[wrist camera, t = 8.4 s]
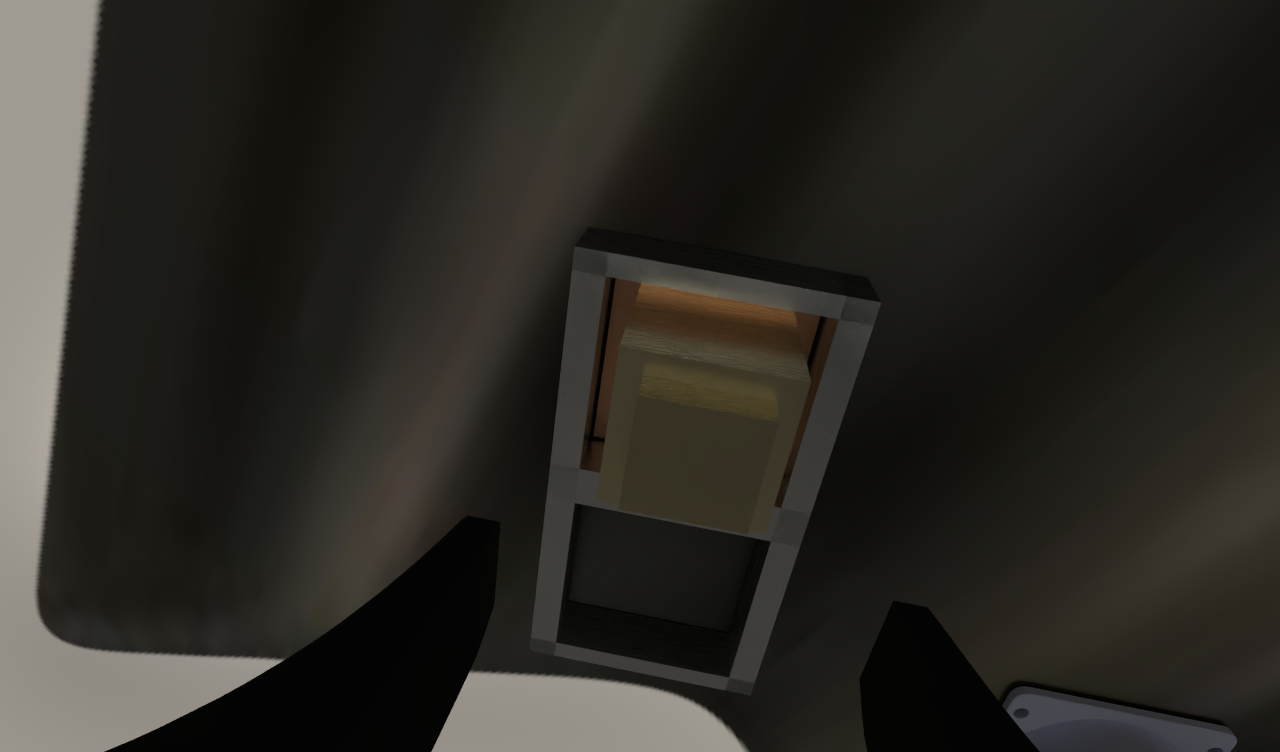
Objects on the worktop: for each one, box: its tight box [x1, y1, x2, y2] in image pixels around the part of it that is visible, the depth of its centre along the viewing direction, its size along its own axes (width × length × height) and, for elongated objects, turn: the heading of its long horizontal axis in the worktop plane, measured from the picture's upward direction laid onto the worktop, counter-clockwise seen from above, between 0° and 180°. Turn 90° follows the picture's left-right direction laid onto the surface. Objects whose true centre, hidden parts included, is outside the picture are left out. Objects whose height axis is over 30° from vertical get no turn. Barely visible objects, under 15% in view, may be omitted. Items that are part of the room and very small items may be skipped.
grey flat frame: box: [530, 227, 881, 695], centre depth 22 cm, size 15×8×2 cm, turn 171°
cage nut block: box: [596, 284, 811, 534], centre depth 19 cm, size 4×4×6 cm
